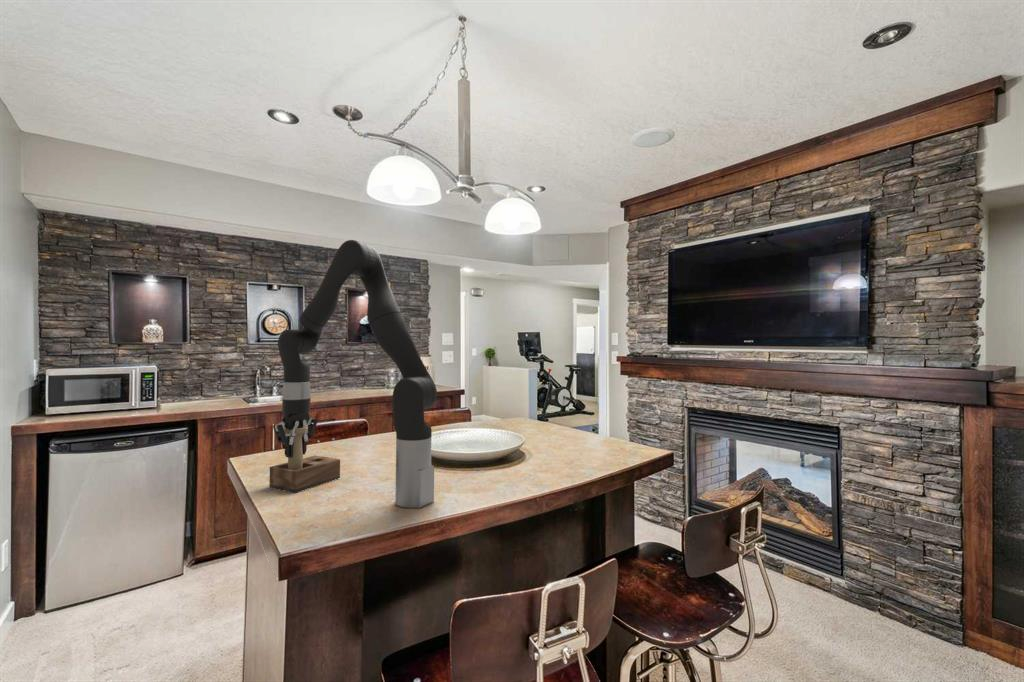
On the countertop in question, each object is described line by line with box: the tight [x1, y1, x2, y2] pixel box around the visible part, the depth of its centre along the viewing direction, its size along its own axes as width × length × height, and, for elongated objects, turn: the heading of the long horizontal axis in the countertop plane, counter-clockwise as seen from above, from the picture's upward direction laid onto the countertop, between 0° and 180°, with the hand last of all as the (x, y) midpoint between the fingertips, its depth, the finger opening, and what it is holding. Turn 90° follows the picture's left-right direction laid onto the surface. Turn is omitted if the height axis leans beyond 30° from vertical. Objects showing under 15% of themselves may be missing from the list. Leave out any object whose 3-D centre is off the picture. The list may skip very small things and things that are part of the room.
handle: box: [284, 427, 308, 470], centre depth 133 cm, size 5×6×15 cm
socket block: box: [269, 455, 341, 494], centre depth 136 cm, size 11×16×6 cm
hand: (295, 455), depth 133 cm, fingers open, 3 cm apart
